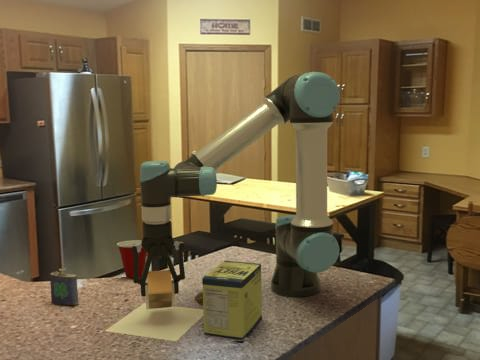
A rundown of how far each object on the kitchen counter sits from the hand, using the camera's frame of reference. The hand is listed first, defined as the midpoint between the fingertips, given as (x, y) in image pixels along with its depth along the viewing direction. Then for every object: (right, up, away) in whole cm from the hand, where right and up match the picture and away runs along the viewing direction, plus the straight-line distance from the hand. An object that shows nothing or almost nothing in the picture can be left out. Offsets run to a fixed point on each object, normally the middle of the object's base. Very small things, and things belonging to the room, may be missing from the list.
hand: (160, 306), depth 139 cm
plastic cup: (-15, +1, +39) cm, 42 cm away
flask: (-31, -3, +16) cm, 34 cm away
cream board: (0, -4, -1) cm, 4 cm away
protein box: (+20, -5, -5) cm, 21 cm away
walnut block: (-1, +1, +4) cm, 4 cm away
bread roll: (+15, -3, +13) cm, 20 cm away
